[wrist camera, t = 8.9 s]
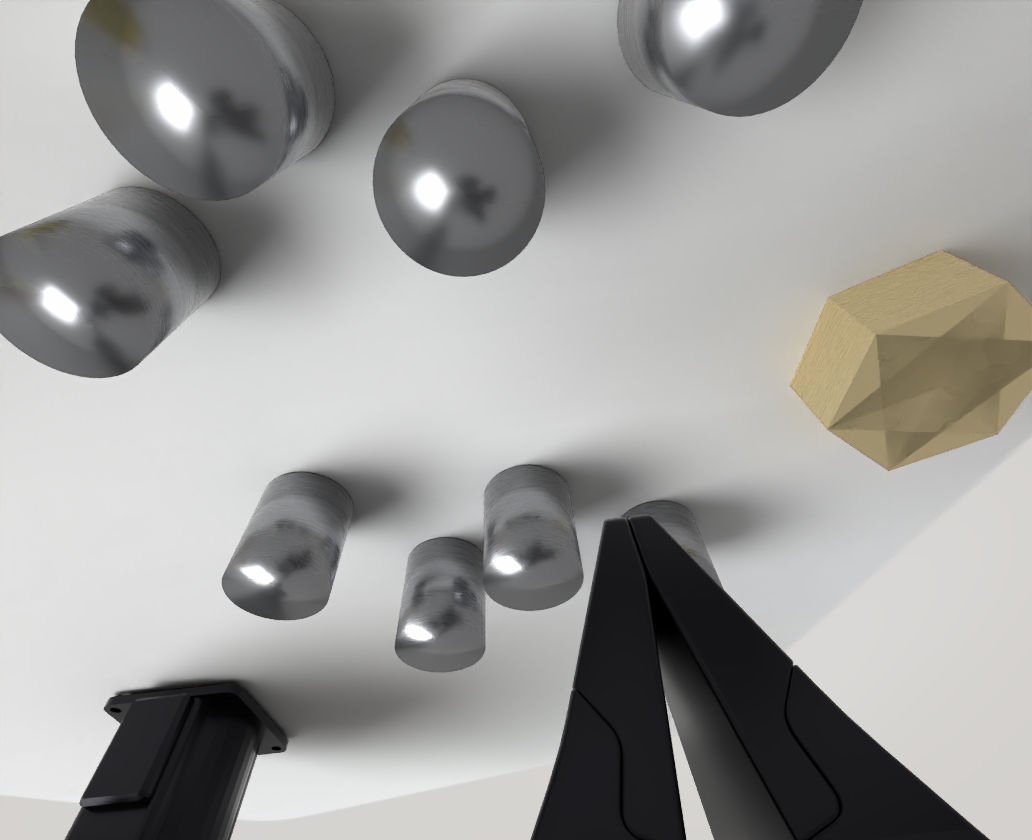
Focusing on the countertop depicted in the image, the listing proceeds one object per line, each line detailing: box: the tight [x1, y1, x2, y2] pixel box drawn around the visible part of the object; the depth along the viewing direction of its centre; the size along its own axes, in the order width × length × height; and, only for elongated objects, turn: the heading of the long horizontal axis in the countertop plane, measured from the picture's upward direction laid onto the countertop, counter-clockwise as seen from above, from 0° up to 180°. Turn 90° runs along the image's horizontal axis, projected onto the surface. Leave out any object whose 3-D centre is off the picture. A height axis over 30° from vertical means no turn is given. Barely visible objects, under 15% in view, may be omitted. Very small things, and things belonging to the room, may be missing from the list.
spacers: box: [0, 0, 863, 672], centre depth 14 cm, size 19×16×4 cm
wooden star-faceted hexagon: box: [790, 250, 1032, 471], centre depth 15 cm, size 5×6×2 cm
